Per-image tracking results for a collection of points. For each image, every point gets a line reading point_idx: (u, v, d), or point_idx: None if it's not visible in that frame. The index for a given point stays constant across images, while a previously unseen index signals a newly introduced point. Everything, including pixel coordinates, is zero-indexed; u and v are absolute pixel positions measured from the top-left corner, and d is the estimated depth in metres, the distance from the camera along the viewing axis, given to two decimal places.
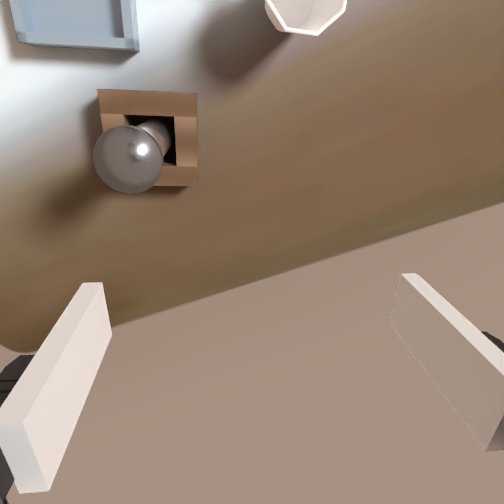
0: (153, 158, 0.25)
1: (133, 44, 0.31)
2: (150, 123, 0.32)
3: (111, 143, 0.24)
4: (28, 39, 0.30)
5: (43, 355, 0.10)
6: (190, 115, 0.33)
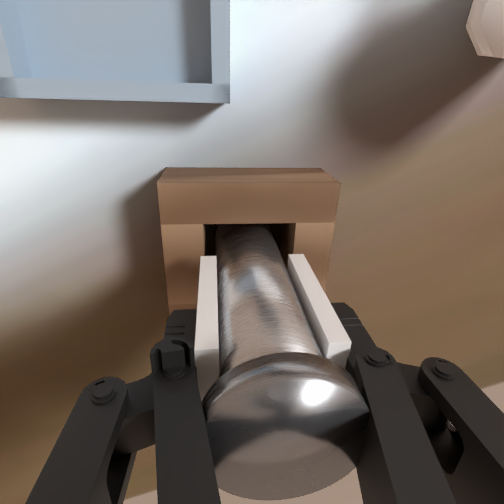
0: (354, 435, 0.09)
1: (228, 95, 0.16)
2: (257, 243, 0.17)
3: (252, 418, 0.08)
4: (20, 92, 0.15)
5: (204, 306, 0.13)
6: (325, 220, 0.18)
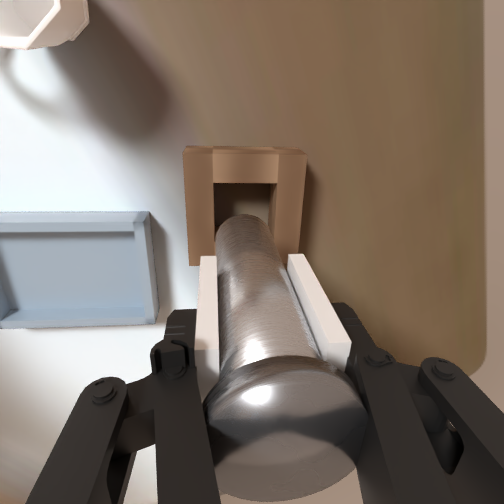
0: (352, 431, 0.09)
1: (139, 222, 0.27)
2: (252, 245, 0.17)
3: (246, 425, 0.09)
4: (151, 315, 0.31)
5: (204, 306, 0.13)
6: (210, 161, 0.24)
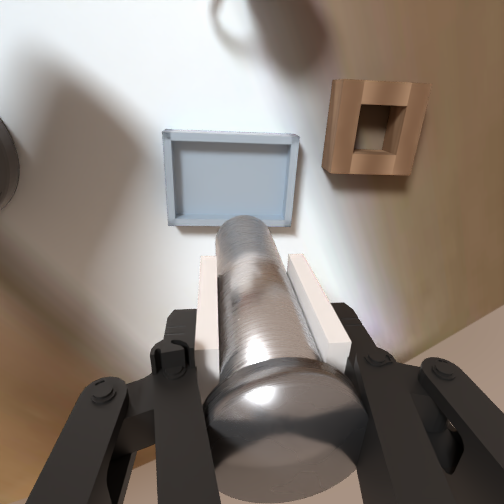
0: (352, 433, 0.09)
1: (296, 137, 0.35)
2: (253, 246, 0.17)
3: (246, 427, 0.09)
4: (289, 219, 0.39)
5: (204, 306, 0.13)
6: (362, 86, 0.33)
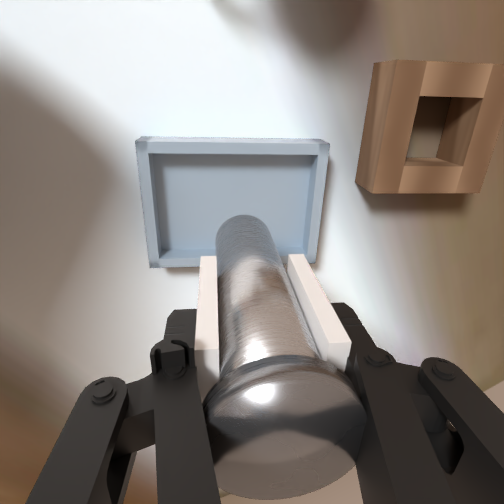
0: (351, 430, 0.09)
1: (325, 144, 0.25)
2: (252, 246, 0.17)
3: (245, 423, 0.09)
4: (313, 253, 0.29)
5: (204, 306, 0.13)
6: (423, 69, 0.23)
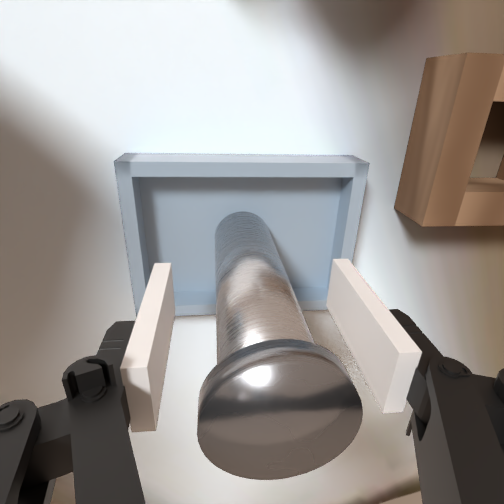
0: (343, 411, 0.10)
1: (362, 164, 0.19)
2: (250, 240, 0.17)
3: (243, 404, 0.09)
4: None
5: (143, 318, 0.12)
6: (500, 66, 0.17)
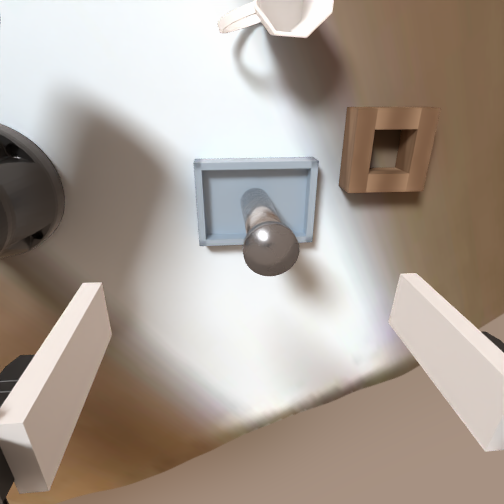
0: (292, 245, 0.29)
1: (315, 161, 0.39)
2: (259, 199, 0.37)
3: (258, 240, 0.28)
4: (310, 235, 0.42)
5: (43, 355, 0.10)
6: (376, 113, 0.36)
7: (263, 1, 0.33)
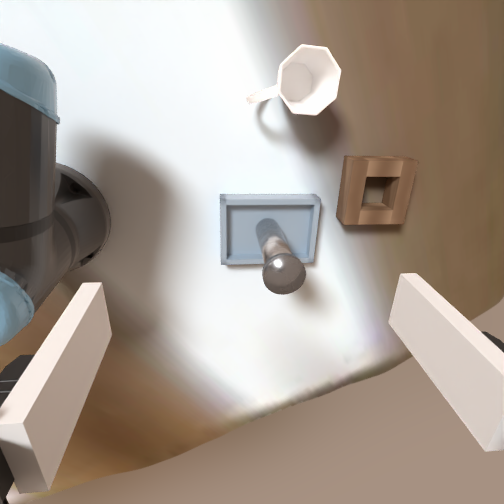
0: (300, 271, 0.38)
1: (318, 199, 0.48)
2: (273, 230, 0.46)
3: (275, 267, 0.37)
4: (312, 257, 0.51)
5: (43, 355, 0.10)
6: (367, 164, 0.45)
7: (281, 77, 0.42)
